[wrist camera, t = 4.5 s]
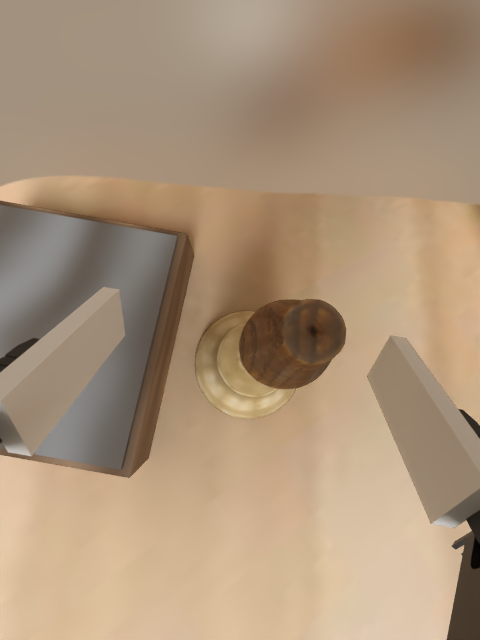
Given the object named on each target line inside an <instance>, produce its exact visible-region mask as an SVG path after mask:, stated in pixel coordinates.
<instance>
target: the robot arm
mask: <svg viewBox="0 0 480 640" xmlns="http://www.w3.org/2000/svg"><path fill="white" fill-rule="evenodd" d="M124 336H125V330H124V322H123V314H122V306H121V298H120V290H119V289H114V288H108V287H103V288H101V289H100V290H99V291H98V292H97V293H95V294H94V295H93V296H92V297H91V298H89V299H88V300H87V301H86V302H85V303H83V304H82V305H81V306H80V307H79V308H77V309H76V310H75V311H74V312H73V313H71V314H70V315H69V316H68V317H67V318H65V319H64V320H63V321H62V322H61V323H59V324H58V325H57V326H56V327H55V328H53V329H52V330H51V331H50V332H48V333H47V334H46V335H45V336H44V337H42V338H41V339H37V338H32V339H30V340H28V341H26V342H24V343H21V344H19V345H17V346H16V347H15V348H13V349H12V350H11V351H10V352H8V353H7V354H6V355H5V357H2V358H1V359H0V443H1V442H2V443H3V445H4V447H5V448H6V450H7V451H8V452H9V453H15V454H21V455H27V456H32V455H33V454H34V452H35V451H36V450H37V449H38V447H39V446H40V445H41V443H42V442H43V441H44V440H45V438H46V437H47V436H48V434H49V433H50V432H51V430H52V429H53V428H54V427H55V425H56V424H57V423H58V421H59V420H60V419H61V418H62V416H63V415H64V414H65V412H66V411H67V410H68V408H69V407H70V406H71V405H72V403H73V402H74V401H75V399H76V398H77V397H78V396H79V394H80V393H81V392H82V390H83V389H84V388H85V387H86V385H87V384H88V383H89V381H90V380H91V379H92V377H93V376H94V375H95V374H96V372H97V371H98V370H99V368H100V367H101V366H102V365H103V363H104V362H105V361H106V359H107V358H108V357H109V355H110V354H111V353H112V352H113V350H114V349H115V348H116V346H117V345H118V344H119V343H120V341H121V340H122V339H123V337H124ZM367 377H368V380H369V382H370V384H371V387H372V389H373V391H374V393H375V396H376V398H377V400H378V403H379V405H380V407H381V410H382V412H383V414H384V417H385V419H386V421H387V423H388V426H389V428H390V430H391V433H392V435H393V437H394V440H395V442H396V444H397V447H398V449H399V451H400V453H401V456H402V458H403V460H404V463H405V465H406V467H407V470H408V472H409V474H410V477H411V479H412V481H413V483H414V486H415V488H416V490H417V493H418V495H419V497H420V500H421V502H422V504H423V507H424V509H425V511H426V513H427V516H428V518H429V520H430V523H431V524H434V525H440V526H446V527H452V528H455V527H456V526H458V525H459V524H461V523H462V522H464V521H466V520H467V522H468V524H469V526H470V528H471V529H472V531H471V532H470V533H468V534H466V535H465V536H463V537H461V538H460V539H458V540H456V541H455V542H454V543H453V545H452V547H453V548H454V549H457V548H459V547H461V546H463V545H465V546H464V551H463V553H462V555H463V557H462V562H461V567H460V572H459V578H458V583H457V588H456V594H455V599H454V604H453V610H452V615H451V620H450V625H449V631H448V636H447V640H480V426H479V424H478V423H477V422H476V421H475V420H474V419H473V418H471V417H470V416H469V415H468V414H467V413H466V412H465V411H463V410H460V409H458V408H457V407H456V406H455V404H454V403H453V402H452V400H451V399H450V397H449V396H448V395H447V393H446V392H445V391H444V389H443V388H442V386H441V385H440V384H439V382H438V381H437V380H436V378H435V377H434V375H433V374H432V373H431V371H430V370H429V369H428V367H427V366H426V365H425V363H424V362H423V360H422V359H421V358H420V356H419V355H418V354H417V352H416V351H415V349H414V348H413V347H412V345H411V344H410V343H409V341H408V340H407V338H403V337H397V336H391V335H390V337H389V339H388V341H387V342H386V344H385V346H384V348H383V349H382V351H381V353H380V354H379V356H378V358H377V360H376V361H375V363H374V365H373V367H372V368H371V370H370V372H369V374H368V375H367Z"/></svg>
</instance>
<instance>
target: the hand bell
mask: <svg viewBox="0 0 480 640" xmlns="http://www.w3.org/2000/svg"><path fill="white" fill-rule="evenodd" d="M345 337H346V327H345V323H344V320H343V318H342V316H341V315H340V314H339V312H338V311H337V310H336V309H335V308H334V307H333V306H331V305H330V304H328V303H326V302H324V301H321V300H314V299H306V300H302V301H301V300H279V301H275V302H272V303H269V304H267V305H265V306H263V307H262V308H260V309H259V310H257V311H239V312H234V313H231V314H228V315H226V316H224V317H222V318H220V319H219V320H217V321H216V322H215V323H213V324H212V325H211V326H210V327H209V328H208V330H207V331H206V332H205V334H204V335H203V337H202V338H201V340H200V342H199V345H198V348H197V351H196V356H195V372H196V377H197V381H198V384H199V387H200V388H201V390H202V392H203V394H204V395H205V397H206V398H207V399H208V400H209V402H210V403H211V404H212V405H214V406H215V407H216V408H217V409H219V410H220V411H222V412H224V413H226V414H228V415H230V416H234V417H237V418H244V419H253V418H260V417H264V416H267V415H269V414H271V413H273V412H275V411H277V410H278V409H280V408H281V407H282V406H283V405H284V404H285V403H286V402H287V401H288V400H289V399H290V398H291V396H292V395H293V393H294V391H295V390H296V388H299V387H302V386H305V385H307V384H309V383H310V382H312V381H314V380H315V379H317V378H318V377H319V376H320V375H321V374H322V373H323V372H324V370H325V369H326V368H327V366H328V365H329V363H330V362H331V360H332V359H333V358H334V357H335V356H336V355H337V354H338V353H339V352H340V351H341V350H342V348H343V346H344V344H345Z"/></svg>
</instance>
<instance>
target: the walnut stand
mask: <svg viewBox="0 0 480 640" xmlns="http://www.w3.org/2000/svg"><path fill="white" fill-rule="evenodd" d="M193 258H194V254H193V251H192V248H191V245H190V242H189V239H188V236H187V234H186V233H181V232H175V231H169V230H164V229H158V228H152V227H147V226H141V225H135V224H130V223H124V222H118V221H113V220H107V219H101V218H95V217H90V216H84V215H78V214H73V213H67V212H61V211H56V210H50V209H44V208H39V207H33V206H27V205H21V204H16V203H10V202H4V201H0V359H1V358H2V357H5V355H6V354H7V353H8V352H10V351H11V350H12V349H13V348H15V347H16V346H17V345H19V344H21V343H24V342H26V341H28V340H30V339H32V338H37V339H41V338H42V337H44V336H45V335H46V334H47V333H48V332H50V331H51V330H52V329H53V328H55V327H56V326H57V325H58V324H59V323H61V322H62V321H63V320H64V319H65V318H67V317H68V316H69V315H70V314H71V313H73V312H74V311H75V310H76V309H77V308H79V307H80V306H81V305H82V304H83V303H85V302H86V301H87V300H88V299H89V298H91V297H92V296H93V295H94V294H95V293H97V292H98V291H99V290H100V289H101V288H103V287H108V288H114V289H119V290H120V298H121V306H122V314H123V322H124V330H125V336H124V337H123V339H122V340H121V341H120V343H119V344H118V345H117V346H116V348H115V349H114V350H113V352H112V353H111V354H110V355H109V357H108V358H107V359H106V361H105V362H104V363H103V365H102V366H101V367H100V368H99V370H98V371H97V372H96V374H95V375H94V376H93V377H92V379H91V380H90V381H89V383H88V384H87V385H86V387H85V388H84V389H83V390H82V392H81V393H80V394H79V396H78V397H77V398H76V399H75V401H74V402H73V403H72V405H71V406H70V407H69V408H68V410H67V411H66V412H65V414H64V415H63V416H62V418H61V419H60V420H59V421H58V423H57V424H56V425H55V427H54V428H53V429H52V430H51V432H50V433H49V434H48V436H47V437H46V438H45V440H44V441H43V442H42V443H41V445H40V446H39V447H38V449H37V450H36V451H35V452H34V454H33V455H32V456H27V455H21V454H15V453H9V452H8V451H7V450H6V448H5V447H4V445H3V443H2V442H1V443H0V455H5V456H10V457H16V458H21V459H27V460H33V461H38V462H44V463H49V464H55V465H60V466H66V467H72V468H77V469H83V470H88V471H94V472H100V473H105V474H111V475H116V476H122V477H128V478H130V477H131V476H132V475H133V474H134V473H135V472H136V471H137V470H138V469H139V468H140V466H141V465H142V464H143V463H144V462H145V461H146V460H147V459H148V458H149V454H150V449H151V445H152V440H153V436H154V431H155V427H156V422H157V418H158V414H159V409H160V405H161V400H162V396H163V391H164V387H165V382H166V378H167V373H168V369H169V365H170V360H171V356H172V351H173V347H174V342H175V338H176V333H177V329H178V325H179V320H180V316H181V311H182V307H183V302H184V298H185V293H186V289H187V284H188V280H189V276H190V271H191V267H192V262H193Z"/></svg>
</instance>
